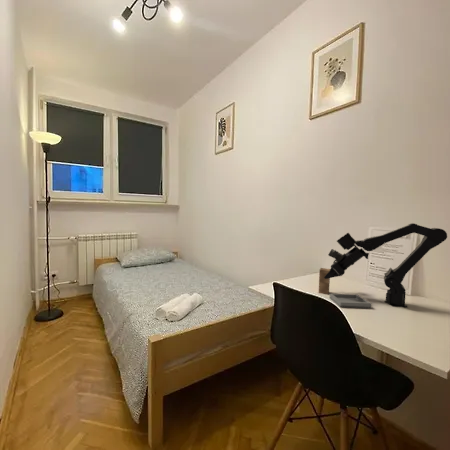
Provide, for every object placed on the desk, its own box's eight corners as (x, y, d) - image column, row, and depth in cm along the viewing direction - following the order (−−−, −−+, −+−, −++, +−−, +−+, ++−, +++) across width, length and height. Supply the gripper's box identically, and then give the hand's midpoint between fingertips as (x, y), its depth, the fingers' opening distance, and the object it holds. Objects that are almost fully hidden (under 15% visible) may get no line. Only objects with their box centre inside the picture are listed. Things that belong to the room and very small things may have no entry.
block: (329, 292, 129) (330, 269, 129) (328, 294, 125) (329, 270, 125) (319, 290, 131) (320, 267, 131) (318, 292, 127) (319, 269, 127)
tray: (356, 298, 119) (357, 294, 119) (371, 308, 107) (371, 303, 107) (329, 298, 120) (329, 293, 120) (340, 307, 108) (340, 302, 108)
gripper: (340, 242, 132) (317, 260, 138) (337, 246, 116) (311, 266, 122) (356, 259, 129) (332, 277, 135) (356, 265, 113) (328, 285, 118)
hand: (325, 276), depth 127 cm, fingers open, 9 cm apart
